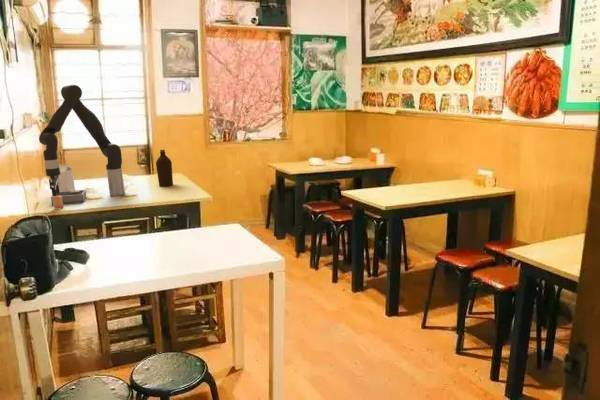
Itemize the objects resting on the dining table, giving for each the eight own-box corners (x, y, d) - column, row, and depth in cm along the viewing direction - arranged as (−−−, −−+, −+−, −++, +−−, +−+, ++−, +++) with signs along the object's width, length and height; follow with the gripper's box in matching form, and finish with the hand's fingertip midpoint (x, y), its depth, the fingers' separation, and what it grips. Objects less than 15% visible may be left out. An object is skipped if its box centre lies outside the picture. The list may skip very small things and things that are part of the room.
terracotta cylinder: (64, 206, 296) (62, 195, 294) (62, 208, 291) (60, 197, 289) (55, 207, 294) (53, 195, 293) (53, 209, 290) (51, 197, 288)
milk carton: (68, 193, 330) (64, 165, 326) (59, 193, 332) (54, 165, 327) (75, 191, 337) (71, 163, 332) (66, 190, 338) (61, 163, 334)
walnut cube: (81, 197, 312) (80, 189, 311) (80, 199, 308) (79, 191, 306) (73, 198, 311) (71, 190, 310) (71, 200, 306) (70, 192, 305)
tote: (87, 197, 317) (86, 189, 316) (83, 202, 304) (82, 194, 303) (56, 199, 313) (55, 192, 312) (52, 205, 300) (50, 197, 299)
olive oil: (162, 187, 337) (158, 151, 331) (155, 185, 345) (151, 150, 339) (176, 185, 344) (172, 149, 337) (169, 183, 352) (166, 148, 345)
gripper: (56, 168, 281) (60, 196, 285) (61, 164, 294) (65, 191, 298) (42, 169, 279) (46, 197, 283) (48, 165, 293) (51, 192, 296)
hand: (56, 194), depth 291 cm, fingers open, 8 cm apart
